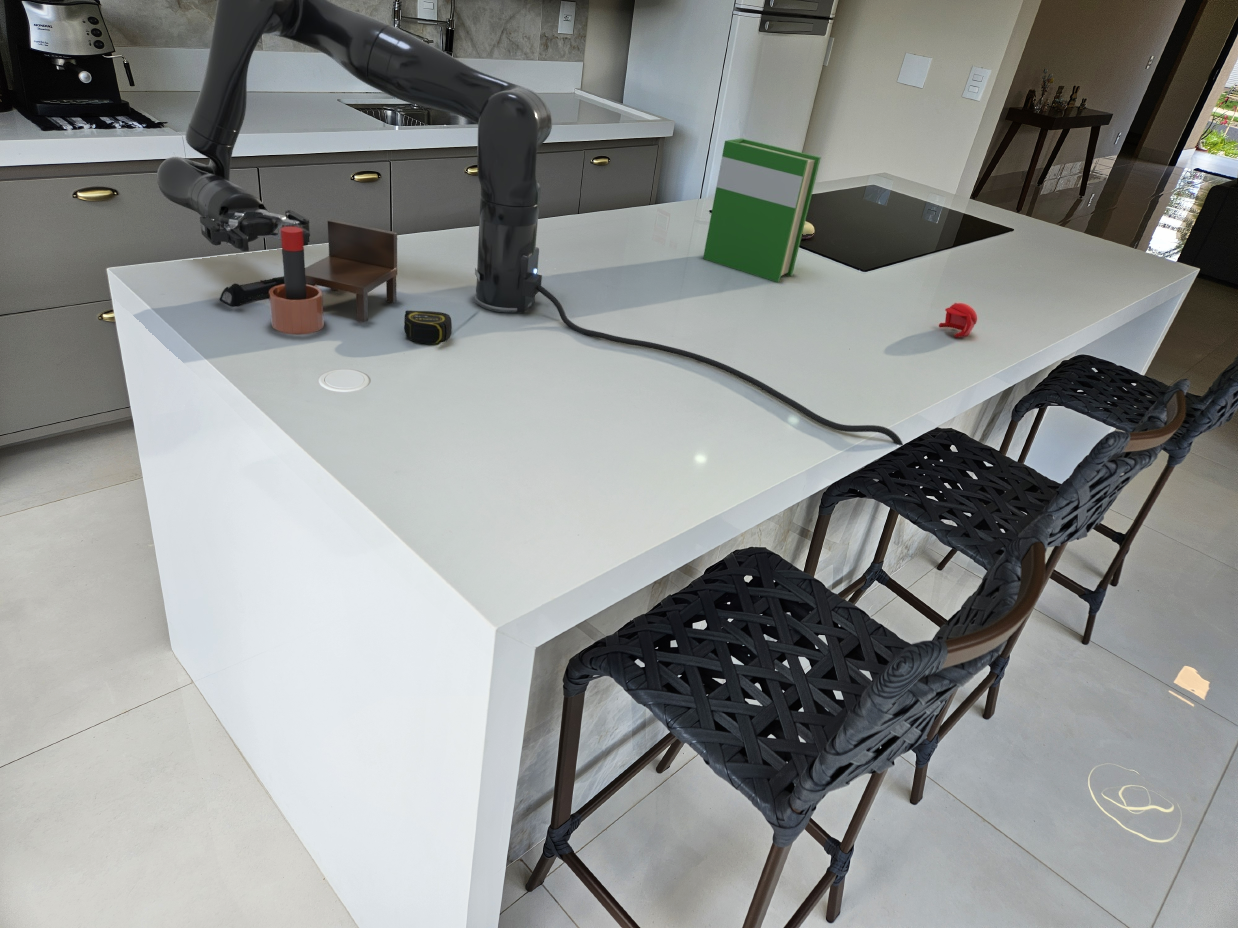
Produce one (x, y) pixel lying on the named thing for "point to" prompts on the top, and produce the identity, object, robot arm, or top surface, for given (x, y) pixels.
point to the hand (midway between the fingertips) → (276, 241)
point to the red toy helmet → (960, 319)
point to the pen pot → (296, 311)
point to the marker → (293, 263)
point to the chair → (357, 262)
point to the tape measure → (427, 326)
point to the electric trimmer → (249, 291)
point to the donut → (807, 230)
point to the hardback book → (760, 208)
